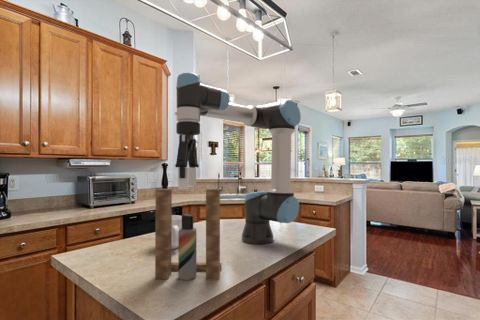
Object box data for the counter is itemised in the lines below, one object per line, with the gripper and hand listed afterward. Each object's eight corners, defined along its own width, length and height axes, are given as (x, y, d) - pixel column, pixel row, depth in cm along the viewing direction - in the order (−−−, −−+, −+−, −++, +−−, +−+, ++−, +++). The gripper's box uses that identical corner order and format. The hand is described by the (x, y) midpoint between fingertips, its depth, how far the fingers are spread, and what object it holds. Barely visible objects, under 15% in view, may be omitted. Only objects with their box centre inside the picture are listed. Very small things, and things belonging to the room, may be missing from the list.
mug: (190, 250, 112) (190, 219, 112) (164, 255, 106) (164, 222, 106) (177, 242, 125) (178, 214, 125) (154, 246, 118) (154, 216, 119)
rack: (221, 268, 92) (221, 187, 93) (218, 279, 83) (218, 189, 84) (164, 268, 93) (164, 187, 94) (155, 279, 84) (155, 189, 85)
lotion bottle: (179, 273, 88) (179, 212, 89) (197, 272, 89) (197, 212, 89) (177, 280, 83) (177, 215, 83) (195, 280, 83) (195, 215, 84)
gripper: (185, 127, 99) (185, 185, 99) (165, 114, 74) (164, 191, 74) (205, 127, 99) (205, 185, 99) (192, 114, 74) (191, 191, 74)
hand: (188, 187), depth 86 cm, fingers open, 13 cm apart
